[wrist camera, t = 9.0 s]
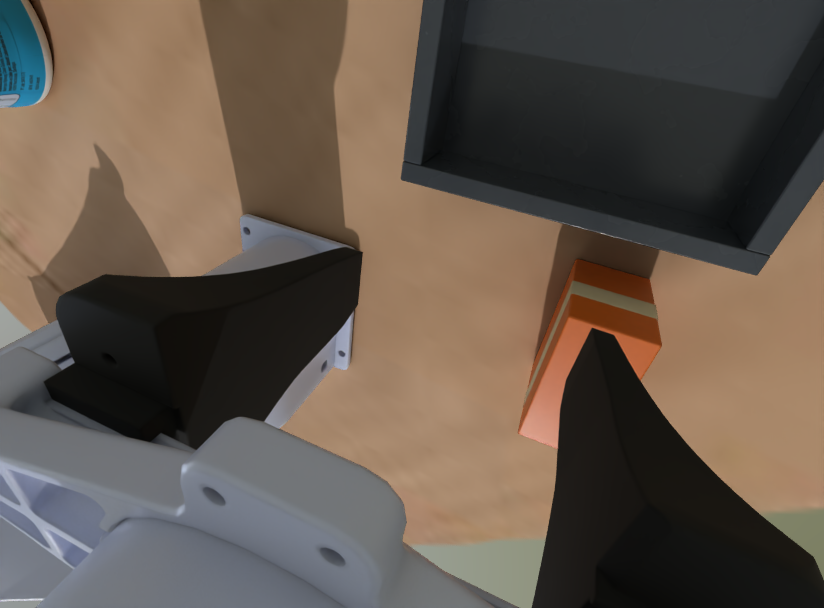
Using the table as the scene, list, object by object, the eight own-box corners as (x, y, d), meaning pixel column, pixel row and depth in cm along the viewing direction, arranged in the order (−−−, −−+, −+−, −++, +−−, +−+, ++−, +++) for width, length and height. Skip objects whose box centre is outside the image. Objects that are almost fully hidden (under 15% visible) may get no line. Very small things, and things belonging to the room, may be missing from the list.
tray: (733, 239, 18) (757, 276, 15) (427, 161, 21) (400, 180, 18) (984, -162, 11) (1110, -228, 8) (482, -189, 14) (453, -244, 11)
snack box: (593, 386, 24) (590, 463, 19) (532, 365, 24) (516, 434, 20) (651, 278, 20) (664, 345, 15) (575, 257, 20) (567, 315, 16)
